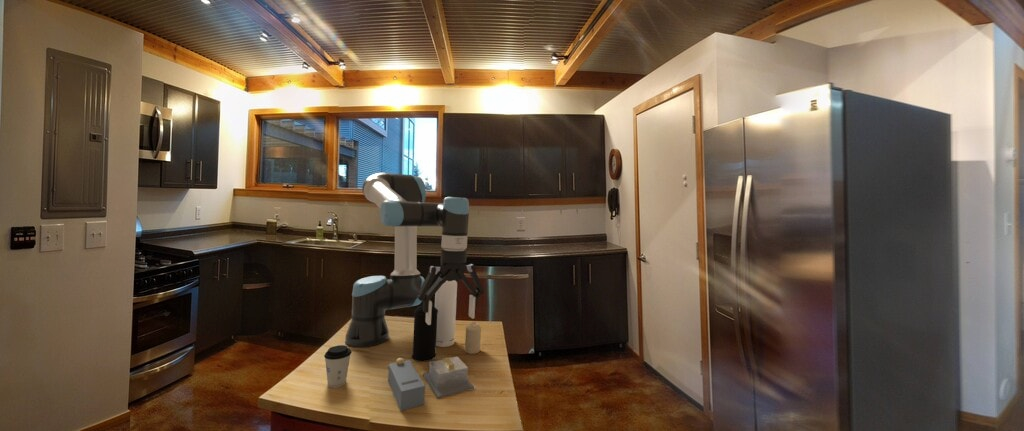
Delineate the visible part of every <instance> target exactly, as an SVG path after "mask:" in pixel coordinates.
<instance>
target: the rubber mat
mask: <svg viewBox="0 0 1024 431" xmlns="http://www.w3.org/2000/svg"><path fill="white" fill-rule="evenodd" d="M422 376H423V378H424V379H425V381H426V383H427V384H428V386H429V388H430V389H431V390H432V392H433V394H434V395H435V397H436V399H441V398H444V397H448V396H449V397H450V396H452V395H455V394H459V393H463V392H467V391H470V390H474V389H475V385H474V384H473V383H472V382H471V381H470V380H469V379H468V378H467V383H464V384H460V385H456V386H452V387H448V388H444V389H440V390H437V389H436V387H435V386H434V384H433V383H432V381H431V380H430V378H429V371H427V372H423V373H422Z"/></svg>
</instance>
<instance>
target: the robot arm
mask: <svg viewBox="0 0 1024 431" xmlns="http://www.w3.org/2000/svg"><path fill="white" fill-rule="evenodd" d="M361 188H362V189H361V190H362V194H363V196H364V197H365V199H367V200H368V201H369V202H371V203H374V204H375V205H376V206H377V207H378V208H379V220H380V223H381V224H382V225H383V226H385V227H387V226H388V227H394V269H393V271H392V272H391V273H390V278H387V277H386V276H385V275H371V276H366V277H363V278H360V279H357V280H356V281H355V282H354V283H353V284H352V286H353V287H352V293H351V296H352V298H351V299H352V300H351V301H352V302H351V320H350V323H349V325H348V329H347V331H346V334H345V341H344V342H345V344H346V345H347V346H350V347H355V348H366V347H373V346H378V345H380V344H382V343H385V342H386V341H388V339H389V334H390V332H389V328H388V323H387V321H386V318H385V316H386V311H388V310H395V309H402V308H412V307H415V306H420V305H421V303H422V305H423V312H424V313H426V320H425V322H426V323H427V324H428V325H431V311H432V306H433V302H432V300H431V299H432V298H433V297H434V295H435V293H436V292H437V291H438V289H439V288H440V287H441V286H442V284H443V283H445V282H446V281H453V280H455V281H456V282H457V281H461V282H462V283H463V285H464V286H465V287H466V288H467V289H468V291H469V292H470V294H469V295H468V296H469V298H468V299H469V300H468V302H469V303H468V317H469V318H471V319H475V316H476V315H475V314H476V313H475V310H476V307H478V305H479V304H478V300H479V299H478V298H479V297H480V295H484V293H485V290H484V287H483V285H482V282H481V280H480V278H479V276H478V274H477V268H476V267H477V266H476V265H475V264H473V263H469V264H467V253H468V251H467V250H466V249H467V247H468V231H469V219H470V218H469V217H470V216H469V215H470V209H469V208H470V202H469V199H468V198H467V197H457V196H455V197H454V196H447V197H444V199H443V202H428V201H427V202H426V197H427V188H426V185H425V182H424V180H423V179H422V178H421V177H420V176H417V175H412V174H404V173H403V174H402V173H390V172H378V173H377V172H376V173H374V174H371V175H369V176H368V177H367V178H366V179H365V180H364V182H363V183H362V186H361ZM418 227H428V228H429V227H434V228H436V227H438V228H440V227H441V231H442V232H441V244H440V245H441V251H440V264H439V266H434V265H430V266H429V267H428V274H427V276H426V277H425V278H424V277H423V276H421V272H420V271H419V270H418V269H417V268H418V266H417V265H418V264H417V262H418V261H417V255H418V253H417V251H418V250H417V249H418V248H417V246H418V243H417V242H418V241H417V240H418V239H417V237H418V236H417V235H418V234H417V233H418V232H417V231H418V230H417V228H418ZM466 272H468V273H469V275H470V277H471V279H472V282H473V284H474V285H472V283H471V282H470V281H469V279H468V277H466V274H465V273H466ZM438 273H440V275H439V276H438V277H437V279H436V280H435V282H434V283H433V284H432V282H433V281H434V279H435V277H436V275H437V274H438ZM431 284H432V285H431ZM474 286H475V287H474Z"/></svg>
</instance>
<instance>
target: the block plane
mask: <svg viewBox="0 0 1024 431" xmlns="http://www.w3.org/2000/svg"><path fill="white" fill-rule="evenodd" d="M387 381H388V384H389V386H390V389H391V391H392V395H393V396H394V398H395V401H396V404H397V405H398V409H399V411H400V412H402V411H406V410H409V409H413V408H416V407H419V406H423V405H425V395H426V393H425V392H426V391H425V390H426V389H425V388H426V385H425V384H424V382H423V380H422V379H421V377H420V375H419V373H418V372H417V370H416V368H415V367H414V366H413V364H412V362H411V361H410V359H408V360H405V359H404V358H403V357H398V358H396V362H393V363H388V373H387Z"/></svg>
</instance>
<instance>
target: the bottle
mask: <svg viewBox="0 0 1024 431" xmlns="http://www.w3.org/2000/svg"><path fill="white" fill-rule="evenodd" d="M457 294H458V282H457V281H455V280H453V281H446V282H445V283H443V284H442V286H441V287H440V288H439V289H438V291H437V292H436V293H435V294H434V295H435V296H434V307H435V308H436V309H437V310H438V313H437V333H436V347H438V348H440V347H441V348H446V347H451V346H453V345H454V344H455V339H456V338H455V335H456V319H457V318H456V317H457V316H456V315H457V298H458V297H457Z"/></svg>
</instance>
